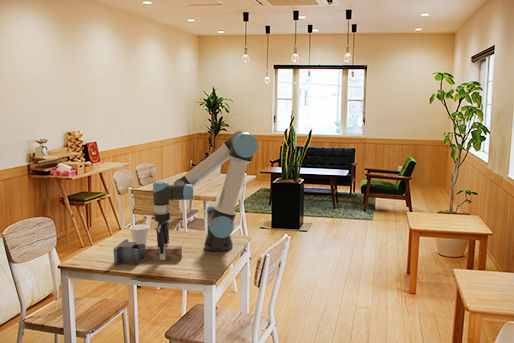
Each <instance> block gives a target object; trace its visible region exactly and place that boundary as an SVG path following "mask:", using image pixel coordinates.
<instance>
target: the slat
mask: <svg viewBox="0 0 514 343" xmlns="http://www.w3.org/2000/svg"><path fill="white" fill-rule="evenodd" d="M157 246H158V245H157ZM157 246H152V245H151V246H150V245H146V246H145V249H144V254H145V259H144V261H161V260H160V251H159V247H157ZM164 247H165V256H166V260H165V261H182V258H183V247H182V245H177V246H173V245H171V246H170V245H168V246H164Z"/></svg>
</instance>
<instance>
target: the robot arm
mask: <svg viewBox="0 0 514 343" xmlns="http://www.w3.org/2000/svg"><path fill="white" fill-rule="evenodd" d="M258 145H259V144H258V141H257V138H256V137H255V135H253V134H252V133H250V132H249V131H245V130H237V131H235V132H234V133H233V134H232V135H231V136H230V137H228V138H227V139H226V140H225V141H224V142H222V145H221V147H219V148H218V149H216V150H215V151H214V152H213V153H211V154H210V155H209V156H208V157H206V158H205V159H204V160H202V161H201V162H200V163H198V164H197V165H196V166H195V167H193V168H192V169H190V170H189V171H188V172H186V173H185V174H184V175H183V176H182V177H180V178H178V179H175V181H174V182H173V184H169V182H168V181H166V180H158V181H155V182H153V183H152V195H153V197H152V198H153V199H152V200H153V206H152V208H153V211H154V219H153V220H154V221H155V222H156V223H157V228H156V229H155V231H156V239H157V240H156V241H157V242H156V243H157V247H159V251H160V260H159V261H167V260H166V256H165V247H164V246H169V244H170V232H169V231H170V230H169V224H170V223H169V221H170V220H171V213H170V201H185V200H186V201H188V200H192V199H194V187H195V186H196V185H198V184H199V183H200V182H201V181H202V180H204V179H205V178H206V177H208V176H209V175H210V174H212V173H213V172H214V171H215V170H217V169H219V167H221V166H222V165H223V164H225V163H226V162H227V161H229V160H230V161H229V166H228V169H227V172H226V175H225V179H224V182H223V186H222V189H221V193H220V196H219V198H218V203H217V204H213V205H208V206H207V208H206V215H207V216H206V217H207V218H206V219H207V220H206V222H207V223H206V224H207V226H206V227H207V228H206V230H207V233H206V236H205V240H204V244H203V248H204V249H205V250H206V251H210V252H225V251H226V250H227V251H230V250H232V249H233V240H232V237H231V234H232V233H233V231H234V228H235V227H234V226H235V225H234V222H235V218H236V215H237V212H236V211H235V208H236V204H237V201H238V199H239V194H240V191H241V187H242V183H243V181H244V177H245V173H246V170H247V168H248V165H249V164H251V163H252V161H253V158H254V155H255V154H256V152H257V150H258ZM227 251H226V252H227Z"/></svg>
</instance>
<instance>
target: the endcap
mask: <svg viewBox="0 0 514 343" xmlns="http://www.w3.org/2000/svg"><path fill="white" fill-rule="evenodd" d="M145 247H146V246H145V244H137V242H133V241H129V238H128V239H124V240H122V241H121V242H120V243H119V244H117V245H116V246H115V247H114V248H113V263H114V266H116V267H118V266H119V265H120V264H131V265H136V266H137V265H138V266H140V264H141V262H140V261H141V260H145V254H144V249H145Z"/></svg>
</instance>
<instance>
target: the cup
mask: <svg viewBox="0 0 514 343" xmlns="http://www.w3.org/2000/svg"><path fill="white" fill-rule="evenodd" d="M149 228H150V226H149V225H147V224H135V225H134V224H133V225H131V226H130V227H129V229H130V232H131V237H132V242H137V244H145V247H146V246H147V242H148V241H147V240H148V234H149Z"/></svg>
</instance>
